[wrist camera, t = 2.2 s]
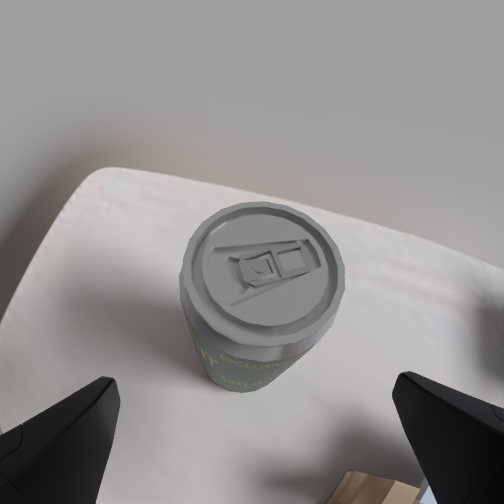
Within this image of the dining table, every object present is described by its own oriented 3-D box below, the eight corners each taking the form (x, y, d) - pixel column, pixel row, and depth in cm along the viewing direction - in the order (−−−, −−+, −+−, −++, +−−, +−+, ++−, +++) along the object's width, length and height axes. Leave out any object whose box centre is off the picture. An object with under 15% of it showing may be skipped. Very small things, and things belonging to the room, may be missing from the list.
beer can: (265, 308, 21) (309, 186, 11) (292, 379, 18) (380, 317, 8) (191, 328, 19) (161, 213, 9) (213, 403, 17) (200, 379, 7)
